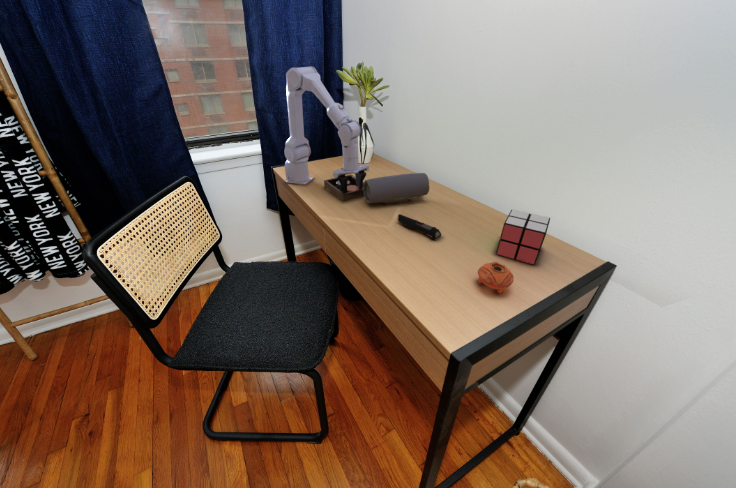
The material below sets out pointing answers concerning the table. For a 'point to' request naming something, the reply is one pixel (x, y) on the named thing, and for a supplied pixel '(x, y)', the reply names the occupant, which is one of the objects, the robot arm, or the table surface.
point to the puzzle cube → (523, 236)
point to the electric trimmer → (420, 226)
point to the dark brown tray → (332, 187)
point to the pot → (495, 276)
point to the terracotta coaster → (352, 188)
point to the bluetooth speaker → (396, 188)
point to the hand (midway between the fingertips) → (351, 191)
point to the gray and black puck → (340, 185)
